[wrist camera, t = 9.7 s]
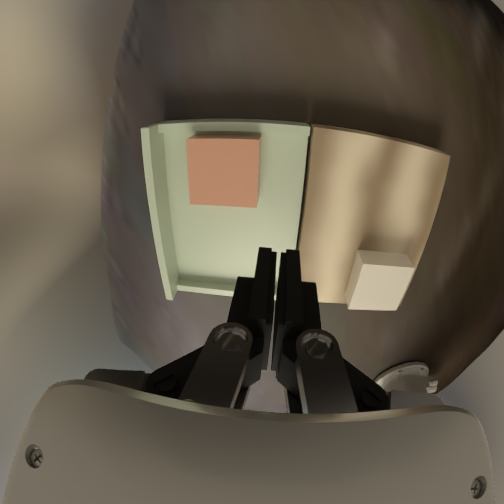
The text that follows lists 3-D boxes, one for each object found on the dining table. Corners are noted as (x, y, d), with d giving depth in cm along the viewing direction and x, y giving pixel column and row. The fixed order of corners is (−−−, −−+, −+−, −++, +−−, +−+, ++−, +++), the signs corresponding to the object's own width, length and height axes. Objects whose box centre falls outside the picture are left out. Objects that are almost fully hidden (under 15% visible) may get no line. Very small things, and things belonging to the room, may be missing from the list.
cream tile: (406, 254, 26) (415, 267, 24) (390, 295, 29) (395, 310, 27) (357, 249, 26) (363, 263, 24) (344, 293, 30) (348, 309, 28)
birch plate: (436, 148, 22) (450, 156, 19) (393, 289, 32) (399, 305, 30) (310, 123, 23) (313, 127, 20) (291, 283, 33) (291, 300, 31)
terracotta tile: (261, 135, 22) (259, 139, 20) (258, 197, 25) (256, 207, 23) (195, 134, 23) (186, 138, 21) (197, 194, 26) (190, 204, 24)
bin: (307, 122, 23) (312, 129, 19) (288, 283, 33) (288, 312, 29) (163, 120, 24) (140, 128, 20) (179, 273, 34) (166, 299, 30)
